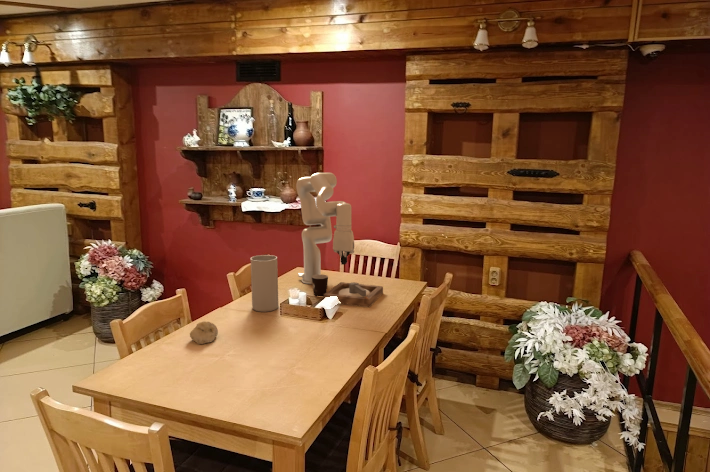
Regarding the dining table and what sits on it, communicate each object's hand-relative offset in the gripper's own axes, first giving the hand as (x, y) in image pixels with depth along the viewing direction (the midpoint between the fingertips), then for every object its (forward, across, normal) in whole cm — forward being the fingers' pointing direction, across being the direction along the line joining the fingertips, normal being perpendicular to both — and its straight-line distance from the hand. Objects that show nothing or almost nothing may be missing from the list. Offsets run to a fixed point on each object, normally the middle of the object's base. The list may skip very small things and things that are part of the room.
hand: (343, 264), depth 253 cm
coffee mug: (+19, -15, +5) cm, 25 cm away
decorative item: (+19, -35, -68) cm, 79 cm away
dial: (+17, +5, +3) cm, 18 cm away
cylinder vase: (+19, -31, -25) cm, 44 cm away
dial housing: (+19, +4, +5) cm, 20 cm away
